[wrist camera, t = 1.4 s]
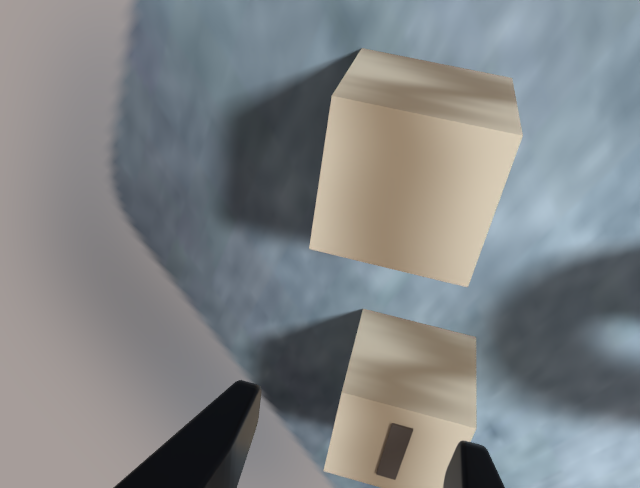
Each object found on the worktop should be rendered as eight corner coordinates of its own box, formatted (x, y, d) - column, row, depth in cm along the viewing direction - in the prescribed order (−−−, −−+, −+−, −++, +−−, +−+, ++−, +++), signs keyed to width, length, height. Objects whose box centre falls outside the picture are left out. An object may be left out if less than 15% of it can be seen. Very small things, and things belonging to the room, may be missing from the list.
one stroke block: (476, 335, 24) (476, 430, 20) (446, 410, 27) (441, 507, 23) (363, 307, 25) (341, 394, 21) (345, 383, 28) (323, 473, 24)
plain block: (511, 77, 18) (522, 135, 14) (468, 207, 21) (468, 287, 17) (362, 47, 19) (331, 95, 15) (339, 178, 22) (309, 249, 18)
